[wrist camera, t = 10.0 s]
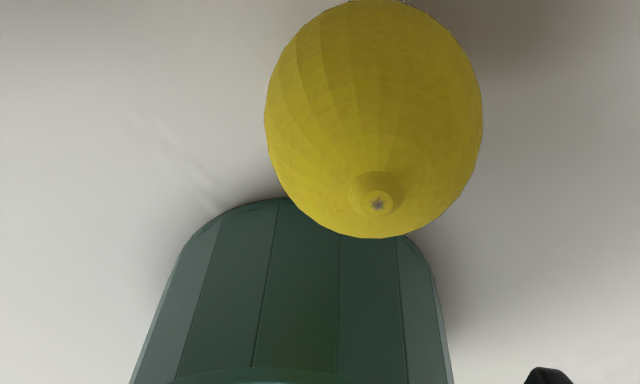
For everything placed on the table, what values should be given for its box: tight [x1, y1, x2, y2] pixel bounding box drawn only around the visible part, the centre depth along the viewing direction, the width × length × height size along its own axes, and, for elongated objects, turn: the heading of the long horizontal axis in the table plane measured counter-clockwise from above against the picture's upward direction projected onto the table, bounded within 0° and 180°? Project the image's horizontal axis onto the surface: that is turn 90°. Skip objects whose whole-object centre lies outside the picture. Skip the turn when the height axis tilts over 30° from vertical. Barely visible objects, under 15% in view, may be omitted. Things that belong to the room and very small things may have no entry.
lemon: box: [264, 0, 483, 239], centre depth 15 cm, size 6×6×8 cm
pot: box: [129, 198, 454, 384], centre depth 22 cm, size 11×11×8 cm
